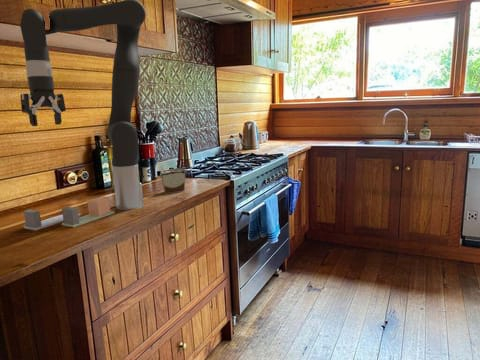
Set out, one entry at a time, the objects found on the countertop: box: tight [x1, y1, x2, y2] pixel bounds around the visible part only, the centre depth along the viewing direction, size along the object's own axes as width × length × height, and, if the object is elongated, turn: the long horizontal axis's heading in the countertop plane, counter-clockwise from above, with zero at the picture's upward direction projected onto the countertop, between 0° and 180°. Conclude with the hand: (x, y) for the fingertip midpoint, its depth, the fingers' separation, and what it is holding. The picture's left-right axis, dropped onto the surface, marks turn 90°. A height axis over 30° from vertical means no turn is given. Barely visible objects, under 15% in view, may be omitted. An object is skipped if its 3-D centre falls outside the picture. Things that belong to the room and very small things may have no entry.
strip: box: [23, 209, 82, 231], centre depth 123 cm, size 17×6×6 cm, turn 152°
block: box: [87, 197, 111, 216], centre depth 129 cm, size 5×5×5 cm
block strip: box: [60, 206, 116, 228], centre depth 125 cm, size 17×6×6 cm, turn 152°
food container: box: [159, 168, 187, 195], centre depth 168 cm, size 12×6×10 cm, turn 123°
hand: (46, 125), depth 125 cm, fingers open, 8 cm apart
